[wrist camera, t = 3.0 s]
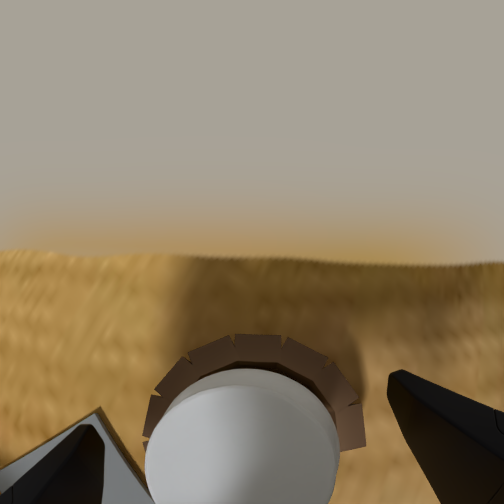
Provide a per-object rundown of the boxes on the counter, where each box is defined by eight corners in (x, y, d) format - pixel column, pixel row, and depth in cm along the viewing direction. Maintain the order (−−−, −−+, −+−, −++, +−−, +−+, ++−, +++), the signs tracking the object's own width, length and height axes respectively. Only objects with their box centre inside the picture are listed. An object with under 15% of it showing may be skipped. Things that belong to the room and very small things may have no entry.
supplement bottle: (268, 363, 15) (270, 300, 7) (331, 444, 13) (416, 483, 5) (180, 420, 14) (73, 422, 6) (241, 502, 12) (207, 602, 3)
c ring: (355, 440, 13) (370, 444, 11) (167, 473, 13) (150, 482, 11) (327, 326, 16) (337, 311, 14) (148, 359, 16) (130, 350, 14)
